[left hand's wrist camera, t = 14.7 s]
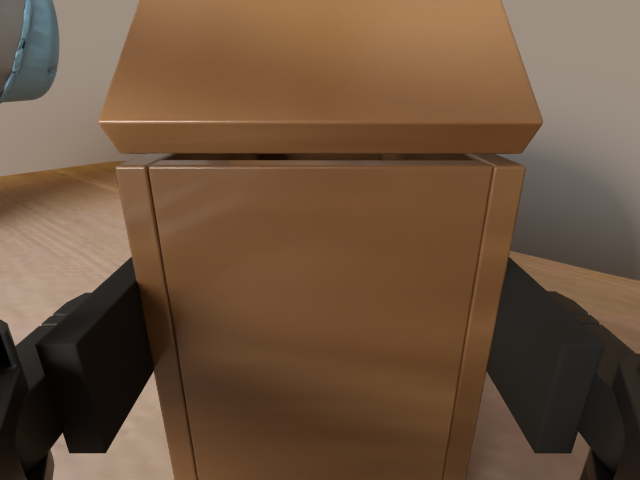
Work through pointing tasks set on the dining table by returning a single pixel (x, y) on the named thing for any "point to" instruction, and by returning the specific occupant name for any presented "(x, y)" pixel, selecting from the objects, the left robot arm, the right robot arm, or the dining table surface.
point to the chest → (320, 307)
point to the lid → (320, 79)
